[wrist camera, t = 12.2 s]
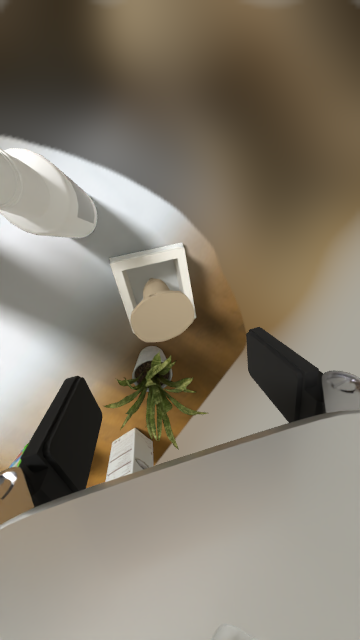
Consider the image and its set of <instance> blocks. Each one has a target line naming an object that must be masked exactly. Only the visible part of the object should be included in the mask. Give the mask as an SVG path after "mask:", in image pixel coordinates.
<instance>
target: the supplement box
mask: <svg viewBox="0 0 360 640" xmlns="http://www.w3.org/2000/svg"><path fill="white" fill-rule="evenodd" d="M150 467H153V441H151V440H150V439H148V438H147V437H146V436H145V435H143V434H142V433H141V432H140V431H139V430H137V429H136V428H134V429H132V430H131V431H129V432H127V433H126V434H124V435H123V436H121V437H120V438H118V439H117V440H115V441H114V442H113V443H112V448H111V454H110V459H109V465H108V471H107V476H106V482H107V481H110V480H113V479H116V478H119V477H122V476H125V475H128V474H131V473H135V472H138V471H141V470H144V469H147V468H150Z"/></svg>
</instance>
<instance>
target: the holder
mask: <svg viewBox="0 0 360 640" xmlns="http://www.w3.org/2000/svg"><path fill="white" fill-rule="evenodd" d="M109 260H110V266H111V269H112V272H113V275H114V278H115V281H116V284H117V287H118V290H119V293H120V296H121V299H122V302H123V305H124V308H125V310H126V313H127V316H128V319H129V322H130V325H131V320H130V319H131V313H132V311H133V310H134V309H135V307H136V306H137V305H138V304H139V303H140V302H141V301H142V300H143V289H144V286H145V284H146V283H147V282H148V281H149V279H150V278H154V279H161V280H162V281H163V282H164V283H166V285H167V286H168V288H169V290H172V291H181V292H182V293H184V294H185V295H186V296H187V297H188V298H189V300H190V301H191V303H192V305H193V308H194V318H196V313H195V307H194V301H193V296H192V290H191V284H190V278H189V273H188V267H187V261H186V255H185V249H184V247H183V243H177V244H172V245H168V246H163V247H158V248H154V249H149V250H145V251H140V252H135V253H131V254H126V255H121V256H117V257H112V258H109ZM131 328H132V327H131ZM132 331H133V329H132ZM133 334H135V333H134V331H133Z"/></svg>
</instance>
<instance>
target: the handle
mask: <svg viewBox="0 0 360 640" xmlns="http://www.w3.org/2000/svg"><path fill="white" fill-rule="evenodd" d="M130 320H131V327H132V329H133V331H134V333H135V334H136V336H137V337H138V338H139V339H141V340H142V341H144V342H162V341H166V340H169V339H171V338H173V337H176V336H178V335H179V334H181V333H182V332H183V331H185V330H186V329H187V328H188V327H189V325H190V324H191V323H192V322H193V320H194V308H193V305H192V303H191V301H190V300H189V298H188V297H187V296H186V295H185V294H184V293H182V292H181V291H172V290H169V288H168V286H167V285H166V283H164V282H163V281H162V280H161V279H154V278H150V279H149V281H148V282H147V283H146V284H145V286H144V289H143V300H142V301H141V302H140V303H139V304H138V305H137V306H136V307H135V309H134V310H133V311H132V313H131V319H130Z"/></svg>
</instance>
